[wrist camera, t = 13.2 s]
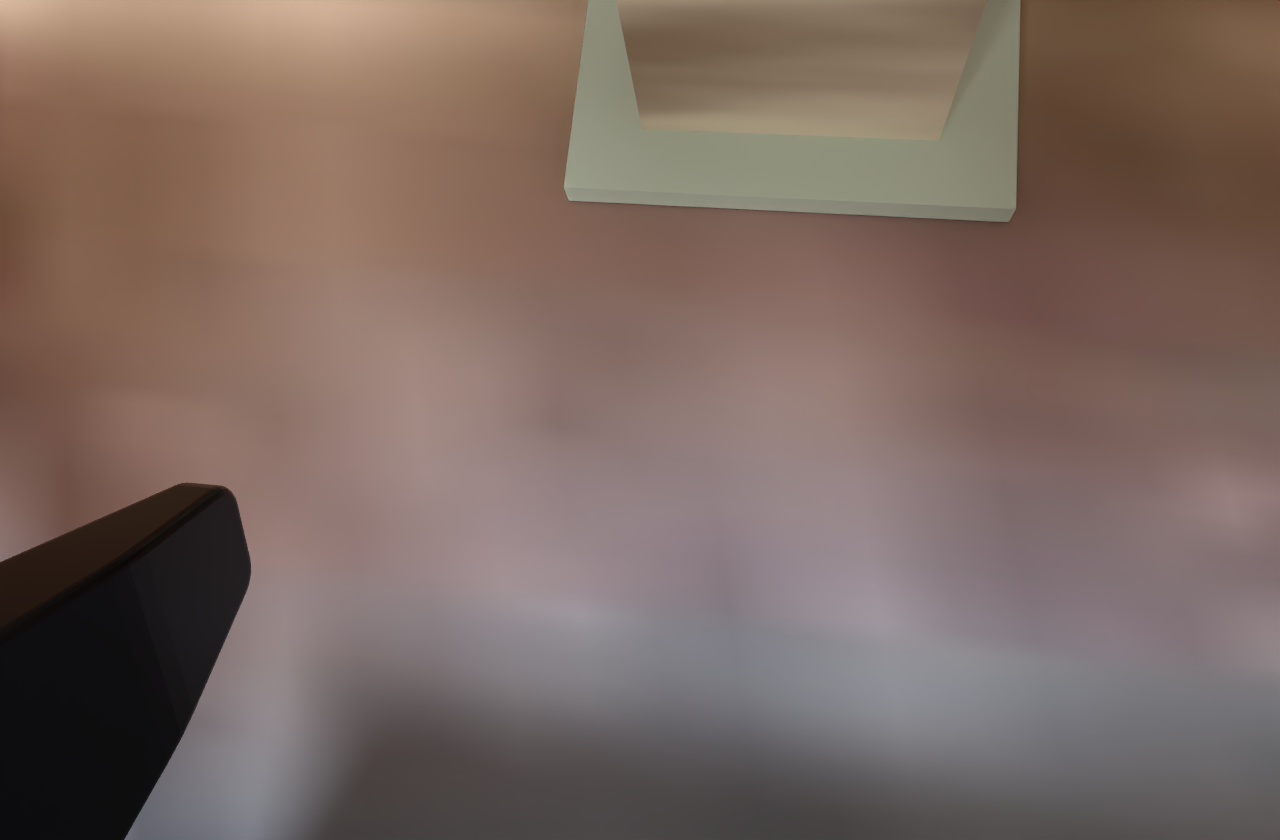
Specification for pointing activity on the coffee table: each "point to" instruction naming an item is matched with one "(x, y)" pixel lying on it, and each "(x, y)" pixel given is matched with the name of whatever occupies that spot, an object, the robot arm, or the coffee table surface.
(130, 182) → the coffee table surface
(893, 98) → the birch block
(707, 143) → the sage mat
